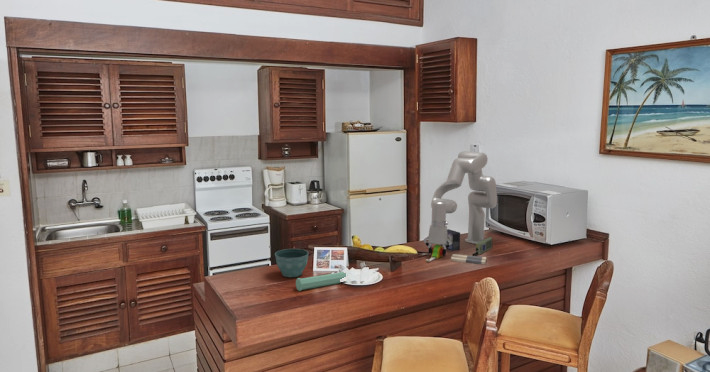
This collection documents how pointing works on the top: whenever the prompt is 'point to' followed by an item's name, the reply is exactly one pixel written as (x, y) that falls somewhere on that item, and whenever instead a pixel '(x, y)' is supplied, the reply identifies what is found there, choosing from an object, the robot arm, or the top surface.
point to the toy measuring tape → (436, 252)
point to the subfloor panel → (468, 259)
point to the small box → (453, 240)
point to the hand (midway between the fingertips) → (437, 254)
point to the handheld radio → (483, 246)
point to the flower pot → (291, 261)
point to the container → (319, 281)
